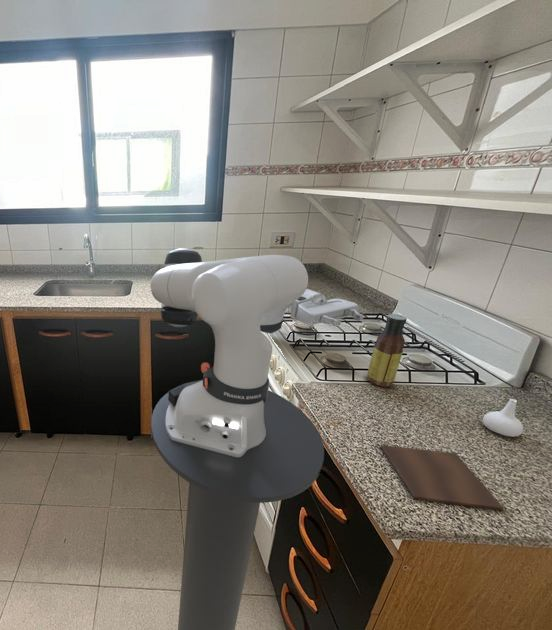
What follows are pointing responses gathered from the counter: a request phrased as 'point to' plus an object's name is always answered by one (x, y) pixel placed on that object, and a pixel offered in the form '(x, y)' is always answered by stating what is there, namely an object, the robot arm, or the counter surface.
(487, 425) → the garlic bulb
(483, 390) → the counter surface
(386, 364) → the sauce bottle
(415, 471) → the walnut board
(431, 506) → the counter surface
